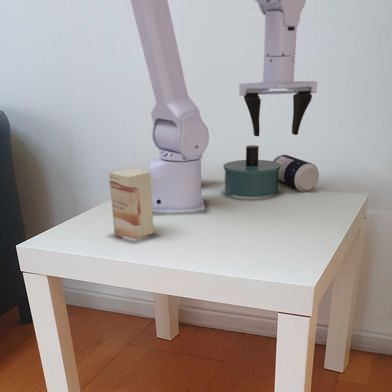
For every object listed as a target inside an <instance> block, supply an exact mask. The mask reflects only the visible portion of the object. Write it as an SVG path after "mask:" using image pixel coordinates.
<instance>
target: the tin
mask: <svg viewBox="0 0 392 392" xmlns="http://www.w3.org/2000/svg"><path fill="white" fill-rule="evenodd" d="M278 172H279V170H277V171H274V172H270V173H261V174H241V173H233V172H229V171H226V170H224V194H225V196H235V197H243V198H244V197H246V198H253V197H254V198H256V197H265V196H271V195H275V194H278V188H279V182H278Z"/></svg>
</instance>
